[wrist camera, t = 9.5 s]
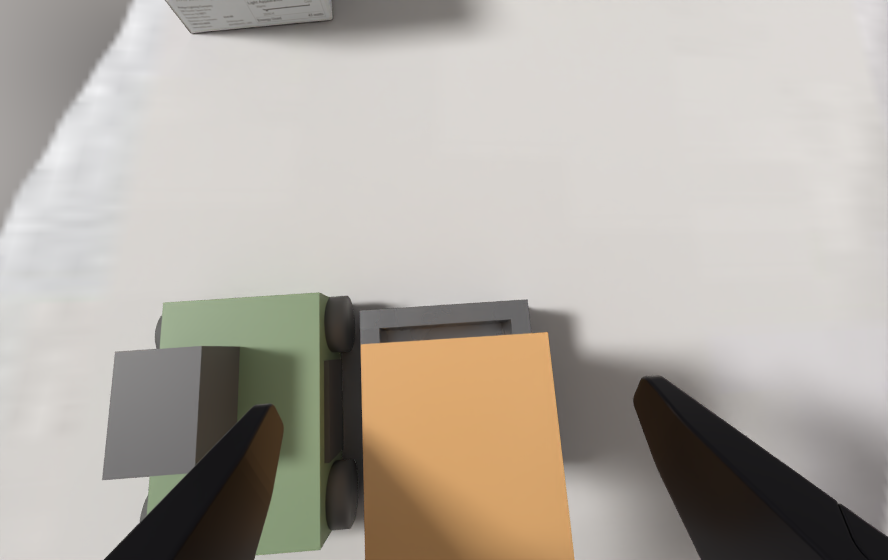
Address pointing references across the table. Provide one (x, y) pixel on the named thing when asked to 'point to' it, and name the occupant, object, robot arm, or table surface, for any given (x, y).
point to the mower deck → (242, 404)
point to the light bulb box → (247, 13)
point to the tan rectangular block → (463, 451)
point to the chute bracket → (444, 322)
